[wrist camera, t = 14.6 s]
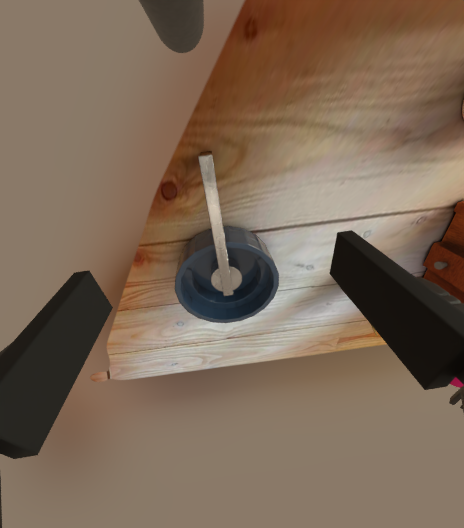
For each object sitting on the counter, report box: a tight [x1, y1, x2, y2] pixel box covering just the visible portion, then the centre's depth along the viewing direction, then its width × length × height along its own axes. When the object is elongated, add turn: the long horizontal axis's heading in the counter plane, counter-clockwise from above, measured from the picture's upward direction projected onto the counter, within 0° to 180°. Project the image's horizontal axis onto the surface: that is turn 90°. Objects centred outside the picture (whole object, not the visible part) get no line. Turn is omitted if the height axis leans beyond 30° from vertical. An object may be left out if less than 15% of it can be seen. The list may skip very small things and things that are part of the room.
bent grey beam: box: [198, 151, 242, 296], centre depth 29 cm, size 20×5×7 cm, turn 7°
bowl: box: [175, 226, 279, 323], centre depth 34 cm, size 16×16×6 cm
